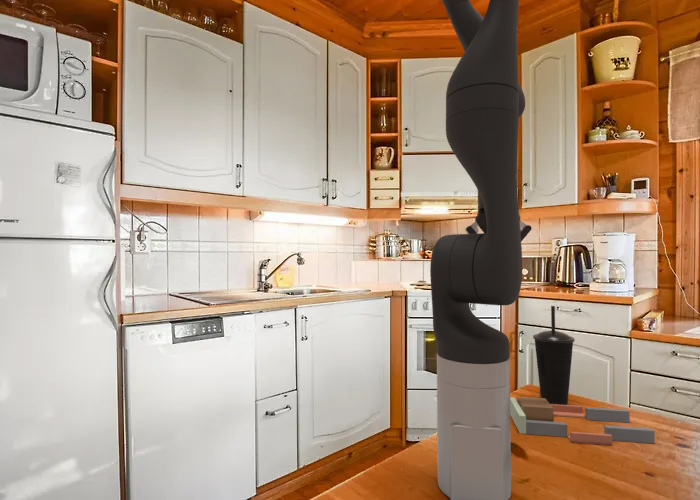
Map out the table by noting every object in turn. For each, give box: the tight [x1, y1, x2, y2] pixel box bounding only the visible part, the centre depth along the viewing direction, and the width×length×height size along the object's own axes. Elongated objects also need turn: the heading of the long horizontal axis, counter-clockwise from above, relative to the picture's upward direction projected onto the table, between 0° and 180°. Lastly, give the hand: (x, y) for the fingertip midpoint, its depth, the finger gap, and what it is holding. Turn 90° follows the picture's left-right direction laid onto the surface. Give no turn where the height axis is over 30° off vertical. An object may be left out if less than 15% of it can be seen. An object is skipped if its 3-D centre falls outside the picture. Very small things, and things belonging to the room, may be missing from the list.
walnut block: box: [516, 396, 555, 422], centre depth 74 cm, size 5×5×4 cm
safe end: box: [510, 396, 527, 435], centre depth 74 cm, size 9×1×3 cm, turn 169°
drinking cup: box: [532, 305, 575, 405], centre depth 84 cm, size 8×8×20 cm
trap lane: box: [525, 404, 656, 446], centre depth 72 cm, size 13×20×2 cm
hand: (497, 272), depth 82 cm, fingers closed
